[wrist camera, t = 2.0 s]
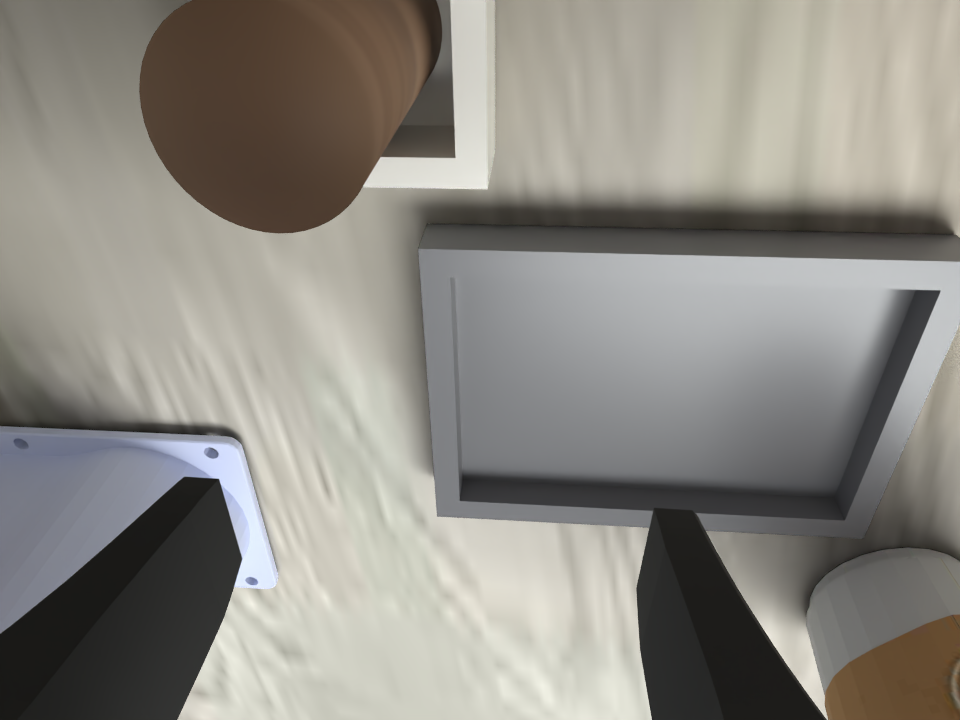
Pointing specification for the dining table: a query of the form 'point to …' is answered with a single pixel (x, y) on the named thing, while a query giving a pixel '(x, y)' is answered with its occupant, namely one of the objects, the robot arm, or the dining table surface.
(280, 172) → the dowel
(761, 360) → the tray
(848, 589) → the coffee cup
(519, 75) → the dining table surface
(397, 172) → the white square frame
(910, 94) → the dining table surface
